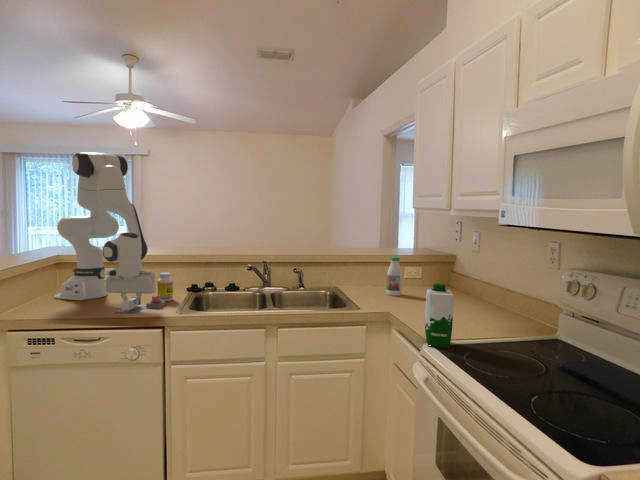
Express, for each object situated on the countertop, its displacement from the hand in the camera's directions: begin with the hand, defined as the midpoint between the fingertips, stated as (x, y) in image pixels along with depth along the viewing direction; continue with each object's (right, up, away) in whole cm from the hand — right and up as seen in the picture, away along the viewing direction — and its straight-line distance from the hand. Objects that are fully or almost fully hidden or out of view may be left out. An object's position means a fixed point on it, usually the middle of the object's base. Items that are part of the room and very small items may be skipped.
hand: (131, 303), depth 167 cm
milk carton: (+121, -9, -34) cm, 126 cm away
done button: (+8, -1, +6) cm, 10 cm away
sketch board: (0, -3, 0) cm, 3 cm away
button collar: (+8, -3, +6) cm, 10 cm away
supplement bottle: (+7, -2, +18) cm, 20 cm away
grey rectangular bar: (0, -2, 0) cm, 2 cm away
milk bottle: (+120, -2, +40) cm, 126 cm away
